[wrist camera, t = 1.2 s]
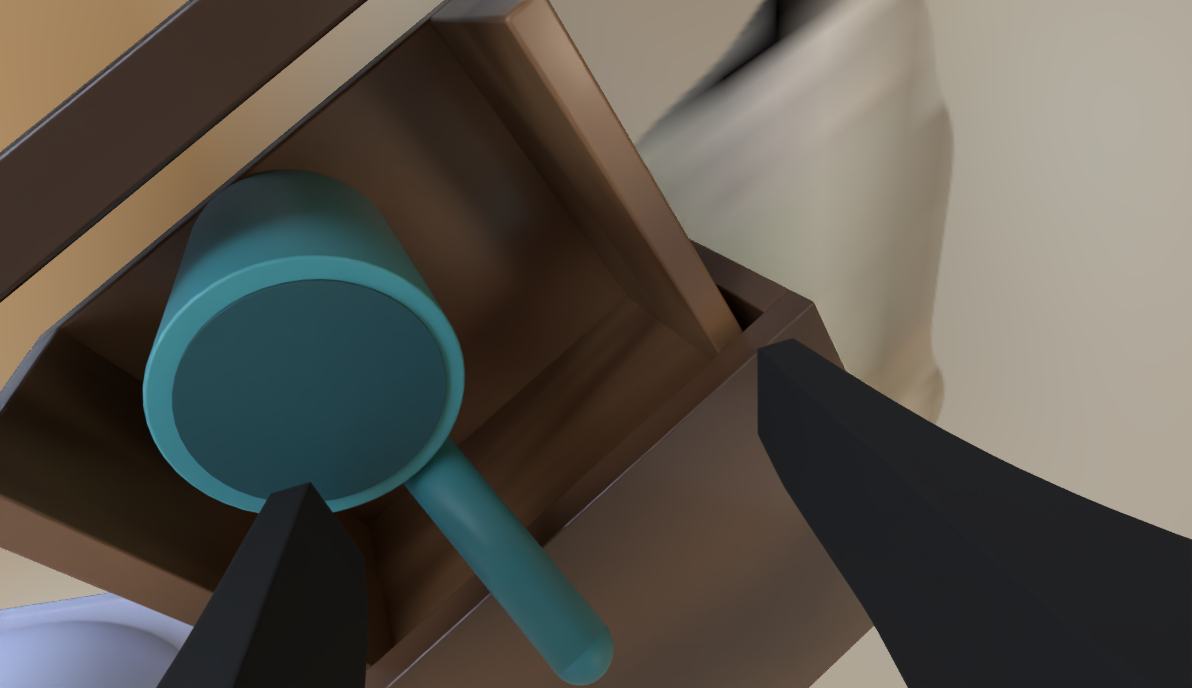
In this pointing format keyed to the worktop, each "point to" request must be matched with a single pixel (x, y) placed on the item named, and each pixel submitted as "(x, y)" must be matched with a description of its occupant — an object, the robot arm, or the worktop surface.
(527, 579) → the scoop
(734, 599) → the cabinet
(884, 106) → the worktop surface
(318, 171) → the drawer
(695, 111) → the worktop surface
